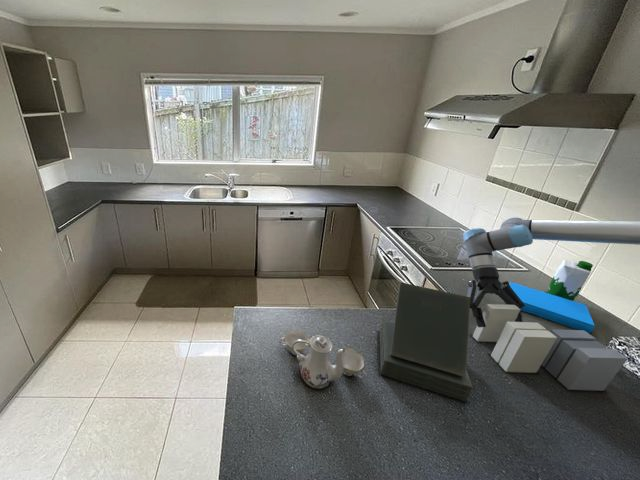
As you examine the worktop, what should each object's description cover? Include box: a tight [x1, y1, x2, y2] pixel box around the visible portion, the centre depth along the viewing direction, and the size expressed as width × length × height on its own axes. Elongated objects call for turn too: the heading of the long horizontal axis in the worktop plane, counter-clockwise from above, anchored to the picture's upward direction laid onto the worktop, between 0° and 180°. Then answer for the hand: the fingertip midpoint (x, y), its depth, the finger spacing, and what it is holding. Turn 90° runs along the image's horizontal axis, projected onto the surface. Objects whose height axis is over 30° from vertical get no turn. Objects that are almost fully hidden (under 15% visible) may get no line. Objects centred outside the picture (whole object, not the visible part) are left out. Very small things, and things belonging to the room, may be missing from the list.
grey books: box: [541, 328, 629, 392], centre depth 88 cm, size 12×11×14 cm
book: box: [506, 281, 595, 335], centre depth 120 cm, size 17×4×25 cm
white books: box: [490, 321, 557, 374], centre depth 91 cm, size 6×10×15 cm, turn 90°
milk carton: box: [547, 259, 594, 301], centre depth 124 cm, size 9×9×20 cm
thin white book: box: [472, 303, 522, 343], centre depth 101 cm, size 2×10×15 cm, turn 90°
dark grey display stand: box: [378, 281, 473, 402], centre depth 88 cm, size 23×20×25 cm
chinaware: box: [279, 329, 367, 390], centre depth 86 cm, size 28×17×17 cm, turn 70°
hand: (501, 327), depth 98 cm, fingers open, 13 cm apart
